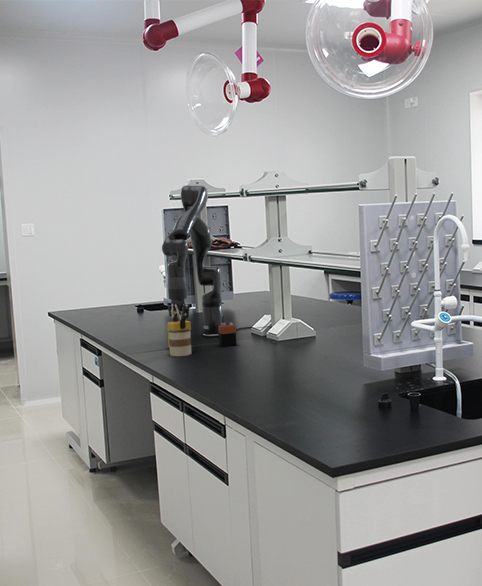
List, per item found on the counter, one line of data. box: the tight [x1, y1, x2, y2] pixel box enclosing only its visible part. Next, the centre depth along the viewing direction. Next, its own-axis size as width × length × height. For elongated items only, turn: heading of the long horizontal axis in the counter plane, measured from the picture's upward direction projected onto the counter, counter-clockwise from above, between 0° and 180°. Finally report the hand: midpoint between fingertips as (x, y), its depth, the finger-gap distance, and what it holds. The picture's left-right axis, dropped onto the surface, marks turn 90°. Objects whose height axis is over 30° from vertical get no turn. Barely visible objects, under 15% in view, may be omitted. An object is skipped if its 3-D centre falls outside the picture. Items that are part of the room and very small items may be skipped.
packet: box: [167, 320, 192, 331], centre depth 293 cm, size 8×5×3 cm, turn 132°
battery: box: [218, 322, 237, 348], centre depth 310 cm, size 4×7×10 cm, turn 116°
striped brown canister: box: [168, 328, 193, 357], centre depth 294 cm, size 10×10×11 cm
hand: (179, 327), depth 293 cm, fingers closed on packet, 5 cm apart
